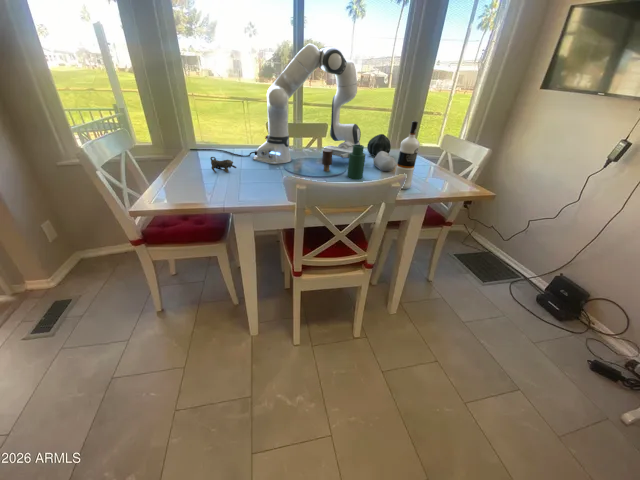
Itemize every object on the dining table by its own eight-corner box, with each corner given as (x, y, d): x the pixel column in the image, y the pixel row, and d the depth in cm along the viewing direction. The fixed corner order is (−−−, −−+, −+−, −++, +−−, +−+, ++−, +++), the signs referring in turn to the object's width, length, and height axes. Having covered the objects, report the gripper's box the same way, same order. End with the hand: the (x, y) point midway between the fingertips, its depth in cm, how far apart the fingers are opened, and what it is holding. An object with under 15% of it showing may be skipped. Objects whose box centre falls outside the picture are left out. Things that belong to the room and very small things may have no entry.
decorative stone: (369, 159, 163) (380, 145, 158) (380, 168, 167) (392, 155, 163) (377, 170, 149) (390, 156, 145) (389, 180, 153) (402, 166, 149)
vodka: (400, 182, 140) (413, 119, 124) (414, 188, 133) (430, 122, 117) (387, 184, 135) (399, 120, 119) (401, 191, 129) (416, 123, 113)
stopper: (320, 171, 148) (321, 150, 142) (323, 168, 152) (324, 148, 146) (329, 172, 147) (331, 152, 141) (332, 170, 151) (333, 149, 145)
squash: (375, 142, 188) (372, 127, 175) (395, 147, 181) (393, 132, 168) (366, 159, 186) (361, 145, 173) (386, 165, 179) (383, 150, 166)
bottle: (345, 178, 141) (348, 146, 132) (348, 173, 147) (352, 143, 138) (360, 180, 139) (365, 148, 130) (363, 175, 145) (367, 145, 137)
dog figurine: (210, 173, 138) (208, 158, 134) (213, 169, 143) (211, 155, 139) (235, 173, 139) (233, 158, 135) (237, 169, 144) (235, 155, 140)
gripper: (329, 141, 165) (318, 146, 155) (361, 147, 157) (351, 152, 147) (329, 152, 168) (318, 157, 158) (359, 158, 160) (350, 163, 150)
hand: (334, 154), depth 152 cm, fingers open, 8 cm apart
